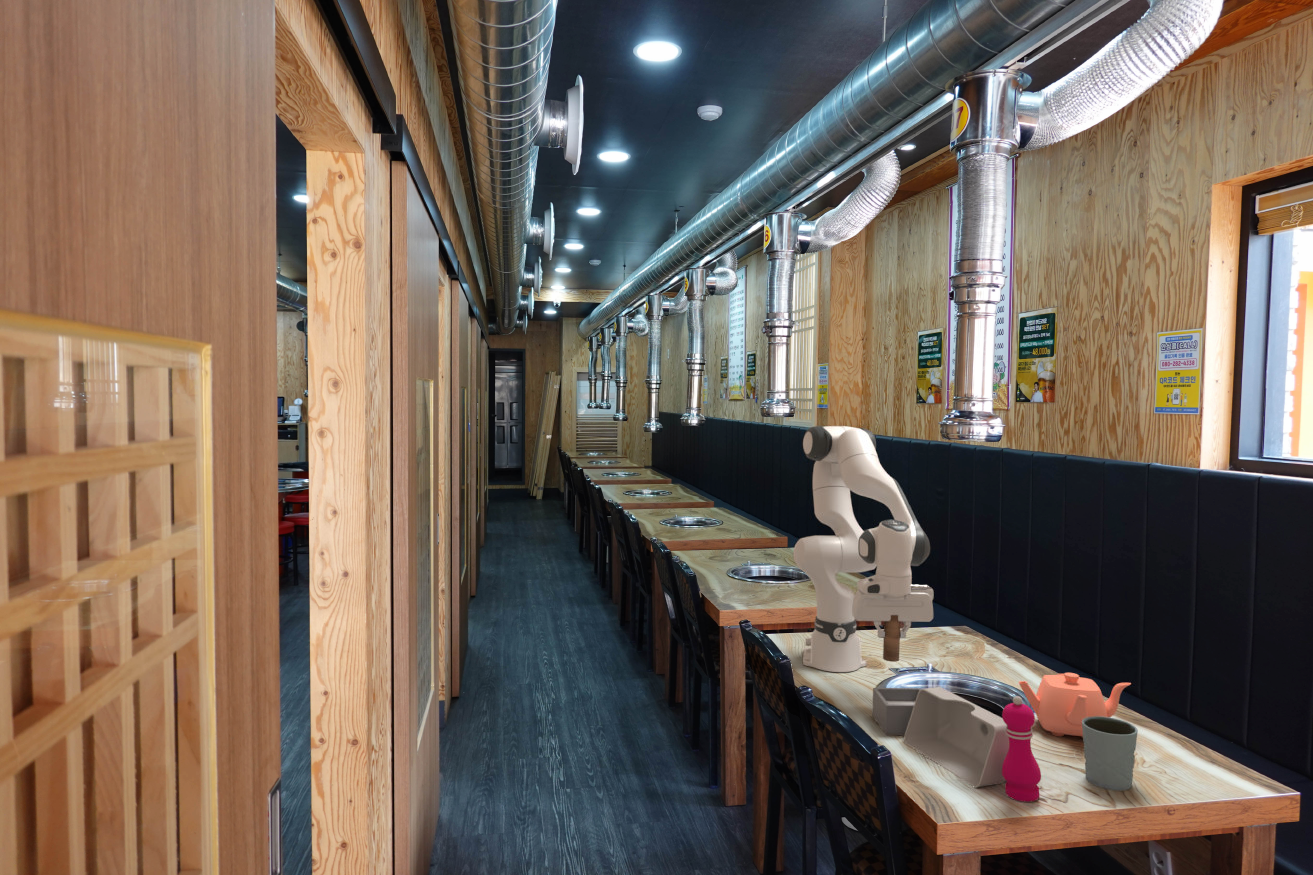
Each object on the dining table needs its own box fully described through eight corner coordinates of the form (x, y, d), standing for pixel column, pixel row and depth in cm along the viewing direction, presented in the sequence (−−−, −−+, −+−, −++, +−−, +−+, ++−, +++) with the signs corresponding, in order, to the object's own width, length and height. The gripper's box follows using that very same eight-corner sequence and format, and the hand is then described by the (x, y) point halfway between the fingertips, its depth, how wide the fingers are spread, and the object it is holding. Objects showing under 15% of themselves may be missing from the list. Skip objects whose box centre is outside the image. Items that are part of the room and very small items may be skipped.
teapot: (1130, 736, 196) (1132, 679, 195) (1082, 752, 186) (1085, 692, 186) (1059, 711, 211) (1061, 658, 211) (1012, 724, 202) (1014, 669, 201)
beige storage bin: (1039, 778, 173) (1041, 720, 173) (977, 790, 168) (979, 730, 167) (958, 733, 197) (960, 681, 196) (902, 741, 191) (903, 689, 191)
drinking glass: (1147, 790, 168) (1149, 732, 168) (1104, 794, 166) (1106, 736, 166) (1110, 768, 178) (1111, 713, 178) (1069, 772, 176) (1071, 717, 176)
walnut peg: (881, 656, 214) (882, 610, 213) (896, 656, 214) (898, 611, 213) (885, 661, 210) (886, 615, 209) (901, 661, 210) (902, 615, 209)
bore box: (872, 715, 207) (873, 687, 207) (920, 715, 207) (920, 688, 207) (885, 734, 195) (886, 705, 195) (936, 734, 195) (937, 705, 195)
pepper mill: (1044, 804, 161) (1039, 703, 160) (1004, 801, 163) (999, 701, 163) (1039, 787, 168) (1035, 691, 167) (1001, 784, 170) (996, 689, 170)
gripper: (929, 581, 214) (927, 634, 215) (851, 580, 214) (849, 633, 215) (938, 587, 208) (936, 641, 209) (857, 586, 208) (855, 640, 208)
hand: (891, 637), depth 212 cm, fingers closed on walnut peg, 4 cm apart
